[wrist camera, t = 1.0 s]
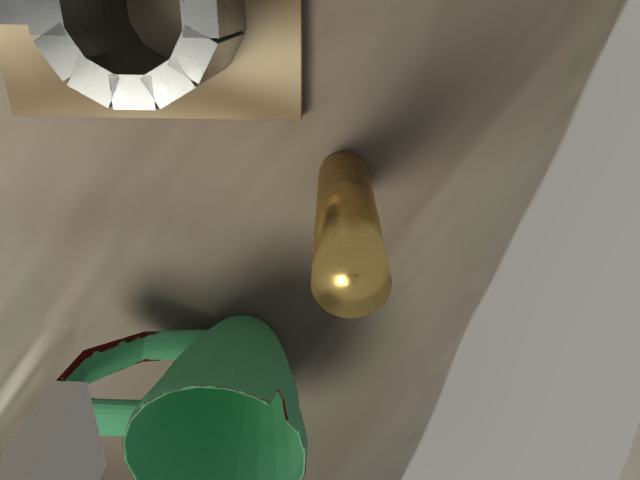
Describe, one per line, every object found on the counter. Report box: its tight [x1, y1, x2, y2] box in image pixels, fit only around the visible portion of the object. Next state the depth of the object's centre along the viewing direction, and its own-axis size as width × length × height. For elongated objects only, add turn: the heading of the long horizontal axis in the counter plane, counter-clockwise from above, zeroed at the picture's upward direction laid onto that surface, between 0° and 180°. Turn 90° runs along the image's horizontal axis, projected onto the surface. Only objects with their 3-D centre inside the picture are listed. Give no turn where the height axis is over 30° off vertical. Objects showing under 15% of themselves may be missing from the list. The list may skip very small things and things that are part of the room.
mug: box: [46, 315, 308, 480], centre depth 31 cm, size 15×10×10 cm
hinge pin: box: [311, 151, 392, 318], centre depth 25 cm, size 3×3×13 cm
